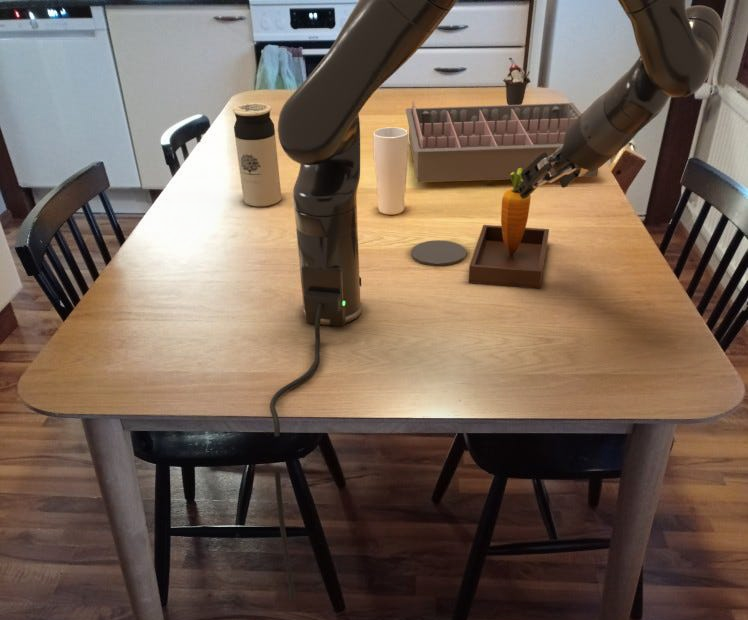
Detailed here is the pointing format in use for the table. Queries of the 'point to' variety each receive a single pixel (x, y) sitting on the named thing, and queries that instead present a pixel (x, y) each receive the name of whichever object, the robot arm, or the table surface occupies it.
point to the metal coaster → (438, 253)
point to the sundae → (515, 85)
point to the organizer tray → (485, 139)
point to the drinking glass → (390, 168)
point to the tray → (509, 258)
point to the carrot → (514, 214)
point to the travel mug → (257, 154)
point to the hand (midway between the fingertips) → (541, 187)
